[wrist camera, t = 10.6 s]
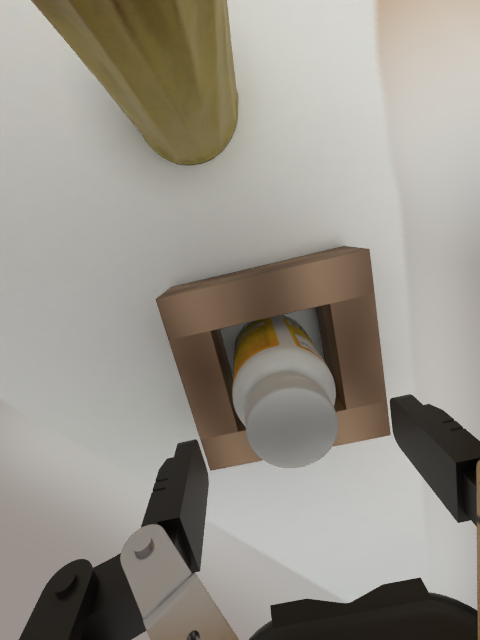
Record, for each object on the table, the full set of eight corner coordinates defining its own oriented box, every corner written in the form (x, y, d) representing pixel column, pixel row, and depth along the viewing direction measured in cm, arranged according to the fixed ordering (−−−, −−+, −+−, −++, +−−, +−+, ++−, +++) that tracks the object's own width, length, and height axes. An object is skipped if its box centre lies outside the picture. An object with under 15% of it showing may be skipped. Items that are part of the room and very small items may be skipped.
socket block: (215, 432, 24) (210, 470, 20) (171, 287, 21) (155, 299, 17) (365, 401, 23) (390, 434, 19) (344, 246, 20) (369, 249, 16)
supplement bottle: (312, 315, 21) (368, 377, 12) (302, 383, 23) (345, 485, 14) (237, 309, 21) (235, 368, 12) (231, 378, 23) (226, 478, 13)
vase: (252, 143, 18) (292, -123, 5) (160, 180, 19) (-48, 40, 5) (216, 28, 17) (116, -896, 3) (117, 72, 17) (-346, -544, 4)
